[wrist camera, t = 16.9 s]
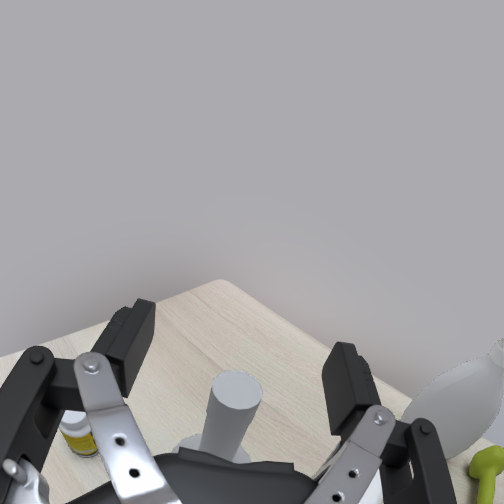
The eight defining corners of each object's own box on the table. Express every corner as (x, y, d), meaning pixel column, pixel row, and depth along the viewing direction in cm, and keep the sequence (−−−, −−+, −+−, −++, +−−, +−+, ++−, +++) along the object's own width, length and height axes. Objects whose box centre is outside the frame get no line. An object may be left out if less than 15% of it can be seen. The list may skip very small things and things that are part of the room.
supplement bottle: (105, 456, 27) (93, 425, 23) (70, 458, 24) (51, 427, 21) (99, 426, 30) (88, 390, 27) (66, 427, 28) (49, 391, 25)
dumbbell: (477, 543, 15) (511, 525, 12) (445, 536, 19) (480, 518, 16) (489, 471, 28) (516, 448, 25) (462, 460, 32) (488, 437, 29)
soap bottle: (453, 445, 35) (550, 326, 24) (444, 477, 29) (562, 354, 18) (394, 412, 43) (481, 283, 32) (379, 442, 37) (484, 304, 25)
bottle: (206, 491, 25) (263, 337, 14) (226, 528, 21) (324, 419, 10) (162, 501, 22) (157, 351, 12) (179, 540, 18) (198, 460, 8)
